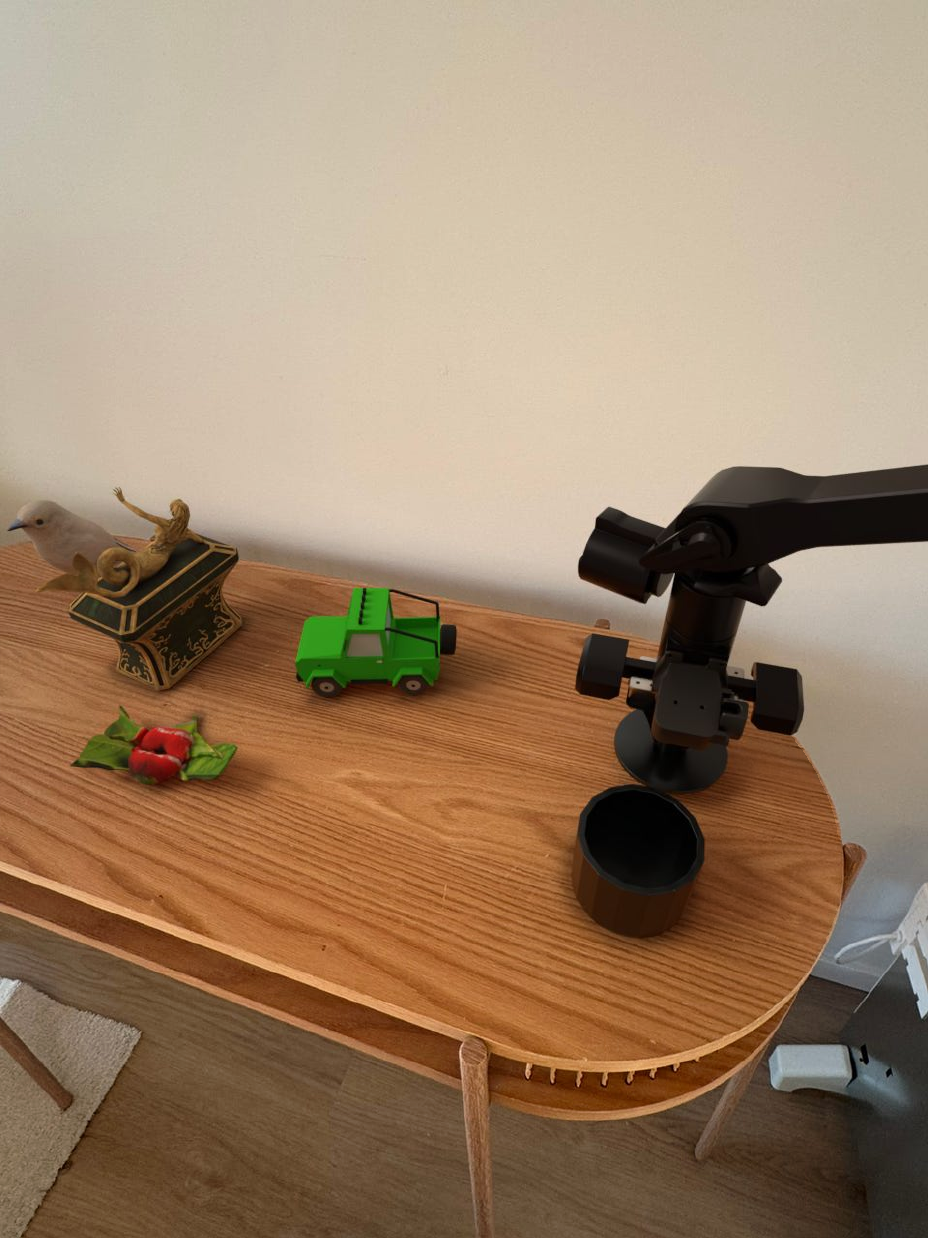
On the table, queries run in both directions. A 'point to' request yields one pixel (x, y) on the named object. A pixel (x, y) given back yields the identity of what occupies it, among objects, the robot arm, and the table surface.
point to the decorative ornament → (131, 740)
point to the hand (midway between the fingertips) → (671, 742)
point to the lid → (666, 759)
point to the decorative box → (156, 598)
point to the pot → (636, 860)
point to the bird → (64, 535)
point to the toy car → (373, 646)
